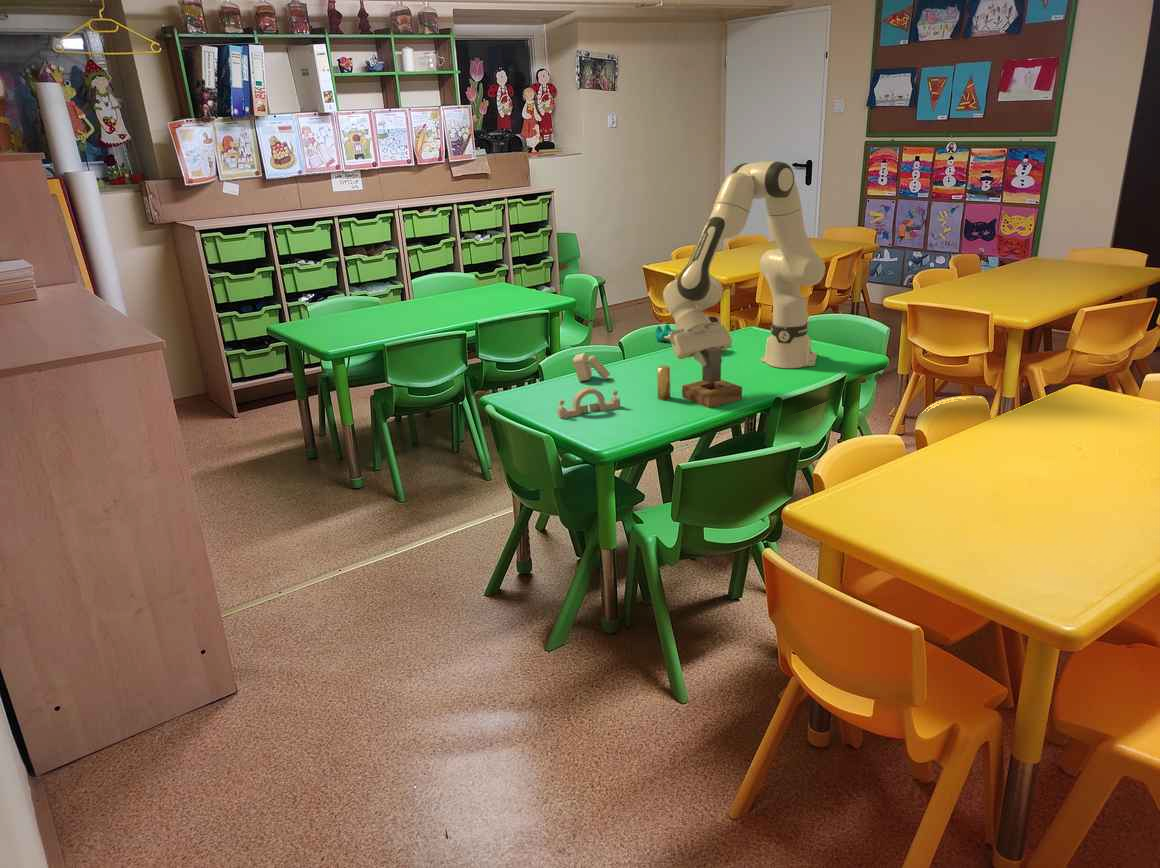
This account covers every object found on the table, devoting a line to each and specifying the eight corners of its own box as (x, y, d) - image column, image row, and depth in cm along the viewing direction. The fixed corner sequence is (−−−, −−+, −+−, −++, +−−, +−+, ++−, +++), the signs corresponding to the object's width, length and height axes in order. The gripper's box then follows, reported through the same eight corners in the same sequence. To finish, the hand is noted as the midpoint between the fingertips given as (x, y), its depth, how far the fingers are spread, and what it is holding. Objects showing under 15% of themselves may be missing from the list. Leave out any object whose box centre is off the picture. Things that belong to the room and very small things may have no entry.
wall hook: (609, 381, 272) (601, 353, 269) (580, 387, 275) (572, 360, 271) (612, 374, 279) (604, 346, 276) (584, 380, 282) (576, 354, 279)
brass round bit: (660, 395, 257) (660, 365, 253) (672, 396, 255) (672, 366, 251) (655, 399, 254) (655, 368, 250) (667, 400, 252) (667, 369, 248)
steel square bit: (702, 380, 250) (702, 348, 247) (712, 377, 252) (712, 346, 248) (710, 383, 247) (711, 351, 243) (720, 380, 249) (721, 349, 245)
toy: (682, 320, 326) (733, 322, 300) (685, 344, 328) (735, 348, 303) (638, 329, 315) (686, 332, 290) (641, 354, 317) (689, 359, 292)
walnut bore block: (682, 397, 254) (682, 385, 253) (714, 389, 260) (714, 377, 258) (708, 408, 243) (708, 395, 242) (741, 399, 249) (742, 386, 248)
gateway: (617, 407, 250) (616, 382, 247) (620, 409, 248) (619, 384, 245) (557, 417, 244) (556, 392, 241) (560, 420, 242) (558, 394, 239)
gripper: (670, 326, 244) (690, 364, 240) (723, 316, 254) (743, 352, 249) (662, 338, 249) (681, 375, 245) (713, 327, 259) (733, 363, 254)
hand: (713, 364), depth 247 cm, fingers closed on steel square bit, 4 cm apart
